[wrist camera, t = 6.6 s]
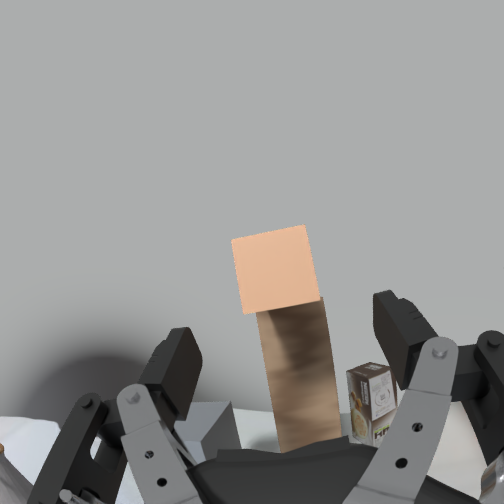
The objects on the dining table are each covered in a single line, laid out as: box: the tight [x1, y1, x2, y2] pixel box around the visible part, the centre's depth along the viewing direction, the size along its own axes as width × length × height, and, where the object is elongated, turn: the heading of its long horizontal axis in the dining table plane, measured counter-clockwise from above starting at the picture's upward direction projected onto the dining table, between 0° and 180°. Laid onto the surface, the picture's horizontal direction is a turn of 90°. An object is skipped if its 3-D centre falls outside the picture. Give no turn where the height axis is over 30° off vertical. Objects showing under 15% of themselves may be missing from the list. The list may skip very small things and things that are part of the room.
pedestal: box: [174, 401, 242, 464], centre depth 25 cm, size 7×12×20 cm, turn 171°
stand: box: [256, 297, 342, 453], centre depth 27 cm, size 6×14×32 cm, turn 171°
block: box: [231, 224, 320, 314], centre depth 27 cm, size 4×26×4 cm, turn 171°
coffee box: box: [346, 362, 398, 448], centre depth 42 cm, size 9×6×16 cm
